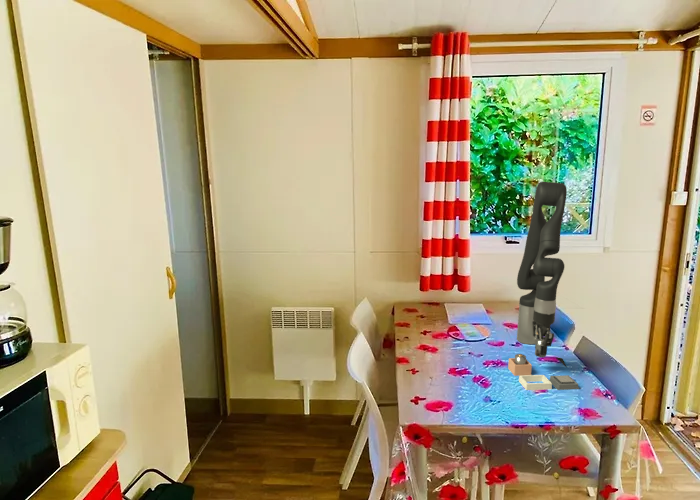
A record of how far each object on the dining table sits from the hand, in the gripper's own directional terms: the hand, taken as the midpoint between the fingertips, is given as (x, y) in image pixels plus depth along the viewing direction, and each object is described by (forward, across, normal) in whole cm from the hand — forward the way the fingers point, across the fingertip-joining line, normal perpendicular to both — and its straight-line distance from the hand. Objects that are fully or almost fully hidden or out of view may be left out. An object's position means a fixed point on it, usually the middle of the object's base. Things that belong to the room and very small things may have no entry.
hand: (540, 351), depth 187 cm
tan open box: (+9, 0, -8) cm, 12 cm away
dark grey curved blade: (+10, -6, +9) cm, 15 cm away
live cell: (+1, 0, 0) cm, 1 cm away
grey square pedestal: (+9, +11, +4) cm, 15 cm away
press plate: (+7, +11, +4) cm, 14 cm away
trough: (+9, +11, -6) cm, 15 cm away
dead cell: (+8, 0, -8) cm, 11 cm away
